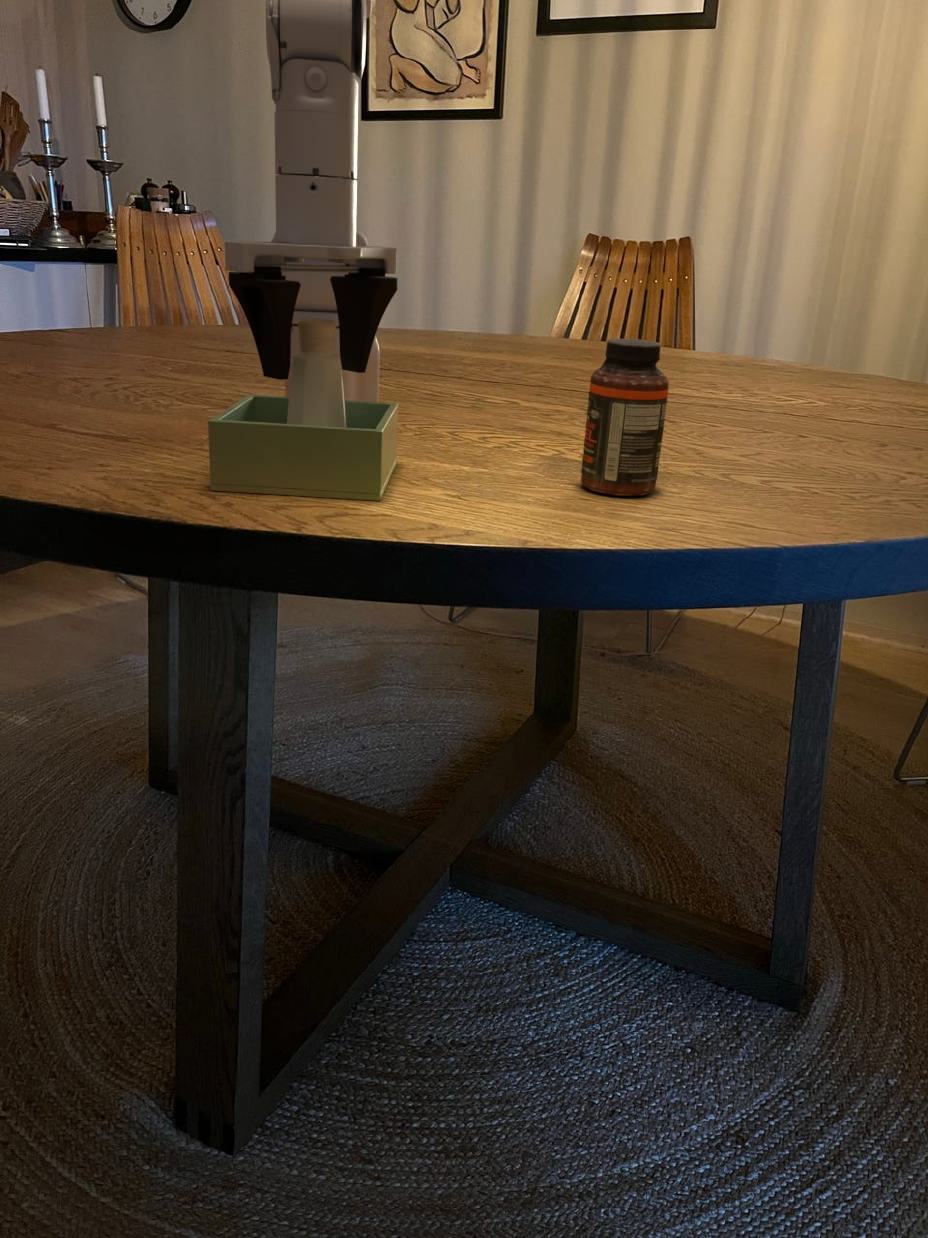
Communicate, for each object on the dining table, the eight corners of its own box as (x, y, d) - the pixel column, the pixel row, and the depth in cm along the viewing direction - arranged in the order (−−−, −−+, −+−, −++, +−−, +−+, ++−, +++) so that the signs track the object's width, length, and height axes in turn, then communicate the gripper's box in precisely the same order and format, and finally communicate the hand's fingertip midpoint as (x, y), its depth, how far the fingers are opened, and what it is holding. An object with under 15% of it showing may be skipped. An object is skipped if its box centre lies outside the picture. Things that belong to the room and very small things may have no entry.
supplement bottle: (573, 478, 81) (586, 334, 77) (644, 481, 82) (662, 338, 78) (587, 497, 76) (603, 343, 71) (664, 499, 76) (684, 347, 72)
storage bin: (249, 455, 83) (248, 394, 81) (396, 464, 82) (398, 403, 81) (210, 490, 71) (207, 420, 69) (380, 501, 71) (382, 430, 69)
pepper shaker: (363, 464, 79) (365, 321, 75) (333, 478, 74) (334, 325, 70) (301, 456, 81) (301, 315, 77) (268, 469, 76) (266, 319, 72)
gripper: (269, 170, 63) (272, 388, 68) (428, 185, 73) (421, 374, 78) (203, 169, 67) (211, 374, 72) (362, 184, 77) (359, 363, 82)
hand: (316, 374), depth 75 cm, fingers open, 7 cm apart
